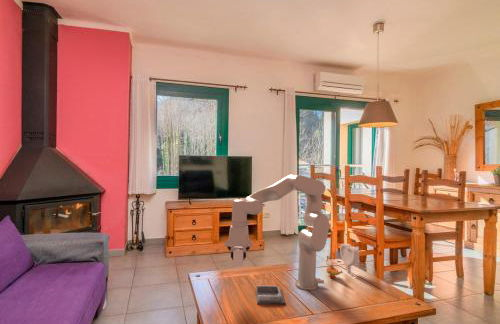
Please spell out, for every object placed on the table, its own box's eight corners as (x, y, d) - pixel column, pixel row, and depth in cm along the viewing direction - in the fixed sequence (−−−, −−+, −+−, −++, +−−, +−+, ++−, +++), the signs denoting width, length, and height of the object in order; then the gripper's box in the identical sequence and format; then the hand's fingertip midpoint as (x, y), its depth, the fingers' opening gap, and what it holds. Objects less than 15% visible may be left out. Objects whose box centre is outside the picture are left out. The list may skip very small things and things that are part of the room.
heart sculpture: (338, 269, 189) (339, 242, 189) (345, 269, 190) (346, 241, 190) (352, 279, 174) (353, 249, 174) (359, 278, 175) (360, 249, 175)
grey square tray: (281, 291, 155) (282, 285, 155) (285, 304, 141) (286, 297, 141) (255, 291, 155) (256, 284, 155) (257, 304, 141) (257, 297, 141)
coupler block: (243, 261, 152) (243, 245, 152) (243, 266, 145) (243, 250, 145) (233, 260, 152) (233, 245, 152) (233, 265, 145) (233, 249, 145)
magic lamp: (336, 285, 166) (337, 265, 165) (321, 272, 183) (321, 255, 183) (347, 284, 167) (348, 265, 167) (330, 272, 185) (331, 254, 185)
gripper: (255, 222, 152) (254, 257, 152) (223, 221, 152) (222, 256, 152) (256, 225, 144) (255, 262, 145) (221, 225, 144) (221, 261, 144)
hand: (238, 258), depth 148 cm, fingers closed on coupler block, 5 cm apart
